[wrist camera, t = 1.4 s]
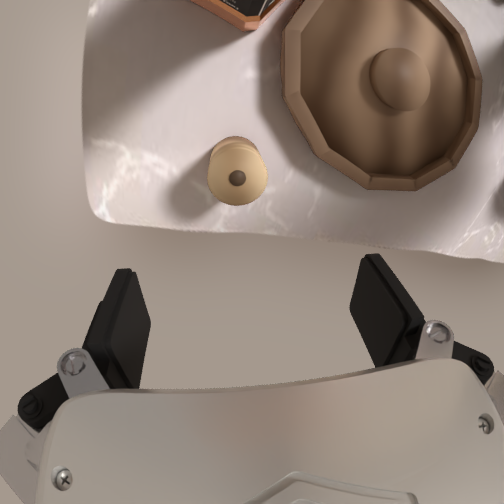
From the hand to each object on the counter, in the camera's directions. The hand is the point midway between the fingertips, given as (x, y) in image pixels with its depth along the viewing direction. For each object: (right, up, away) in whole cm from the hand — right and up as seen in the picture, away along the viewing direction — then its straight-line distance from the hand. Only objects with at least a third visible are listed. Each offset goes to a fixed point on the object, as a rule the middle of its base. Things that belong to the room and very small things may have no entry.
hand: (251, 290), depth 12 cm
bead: (-2, +11, +17) cm, 20 cm away
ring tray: (+15, +20, +13) cm, 28 cm away
